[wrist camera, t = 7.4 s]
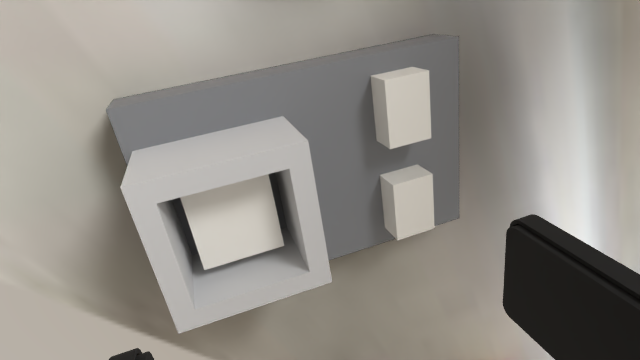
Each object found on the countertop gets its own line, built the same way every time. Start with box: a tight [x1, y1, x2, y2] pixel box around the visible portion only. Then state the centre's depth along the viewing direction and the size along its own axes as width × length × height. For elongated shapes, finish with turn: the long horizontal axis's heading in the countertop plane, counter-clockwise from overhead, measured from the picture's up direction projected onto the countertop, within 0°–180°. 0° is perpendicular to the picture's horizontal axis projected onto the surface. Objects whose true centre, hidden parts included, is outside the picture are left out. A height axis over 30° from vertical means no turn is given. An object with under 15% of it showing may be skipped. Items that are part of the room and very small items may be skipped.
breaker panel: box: [106, 34, 459, 334], centre depth 26 cm, size 22×14×8 cm, turn 99°
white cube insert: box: [180, 174, 284, 270], centre depth 24 cm, size 5×5×3 cm
